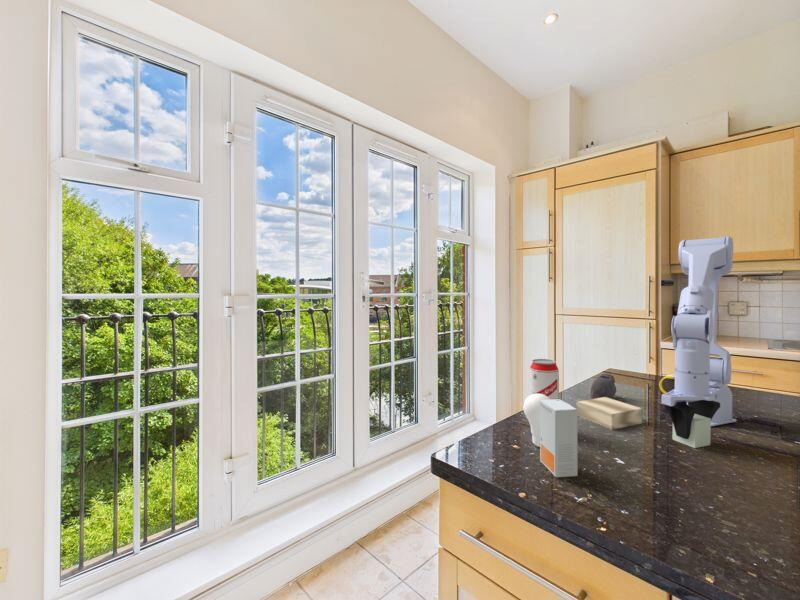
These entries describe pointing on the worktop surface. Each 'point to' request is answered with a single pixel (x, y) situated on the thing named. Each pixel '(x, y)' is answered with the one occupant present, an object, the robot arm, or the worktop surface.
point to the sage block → (696, 432)
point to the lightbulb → (534, 415)
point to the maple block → (609, 412)
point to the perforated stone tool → (603, 387)
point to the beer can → (544, 378)
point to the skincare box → (558, 437)
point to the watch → (663, 379)
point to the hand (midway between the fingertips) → (691, 435)
